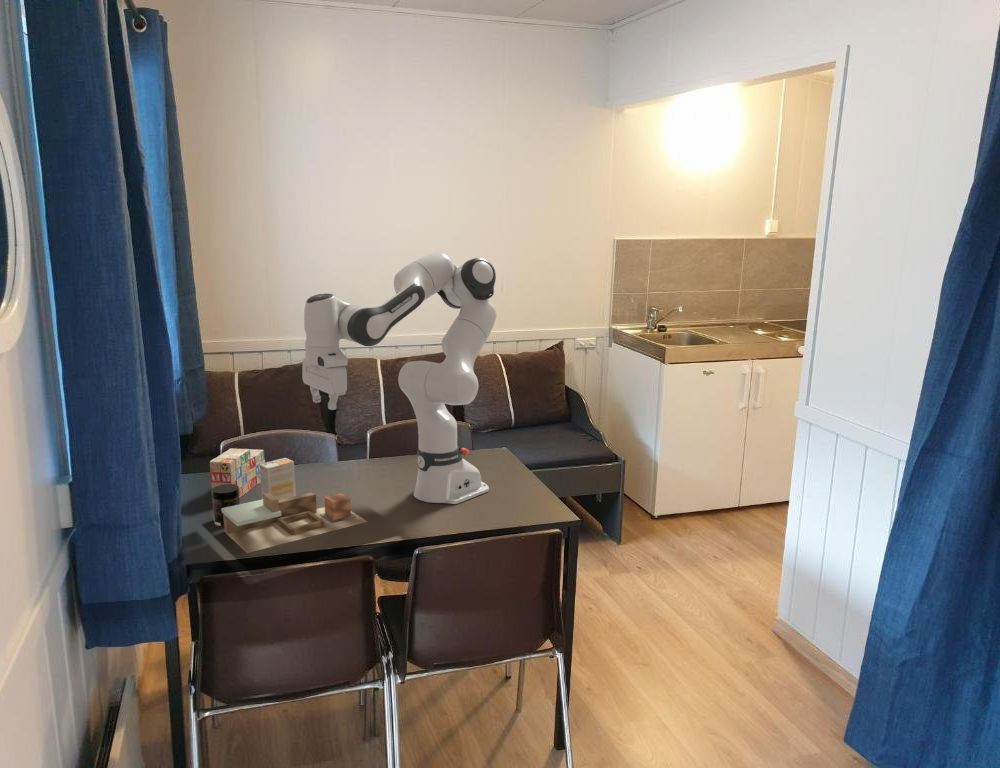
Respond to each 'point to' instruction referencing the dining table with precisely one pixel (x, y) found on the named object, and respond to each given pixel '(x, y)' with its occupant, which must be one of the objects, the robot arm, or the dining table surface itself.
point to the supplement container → (224, 500)
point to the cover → (253, 510)
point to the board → (287, 524)
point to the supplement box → (278, 478)
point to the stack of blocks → (237, 468)
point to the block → (337, 506)
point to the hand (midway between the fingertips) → (324, 405)
